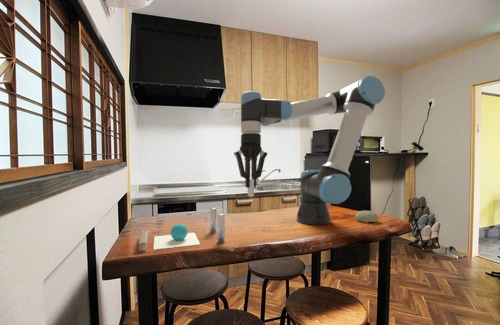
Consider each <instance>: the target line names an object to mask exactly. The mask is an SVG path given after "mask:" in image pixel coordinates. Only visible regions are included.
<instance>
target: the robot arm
mask: <svg viewBox="0 0 500 325" xmlns="http://www.w3.org/2000/svg"><path fill="white" fill-rule="evenodd" d="M385 96H386V89H385V86H384V84H383V81H381V79H379V78H378V77H376V76H374V75H367V76H364V77H361V78H359V79H358V80H356V81H355V82H353V83H350V84H349V85H346V86H344V87H342V88H341V89H339V90H337V91H334V92H331V93H330V92H329V93H328V94H326V96H321V97H315V98H309V99H303V100H298V101H294V102H291V101H290V100H285V99H273V98H272V99H271V98H270V99H269V98H262V95H261V93H260V92H258V91H254V90H253V91H252V90H251V91H249V90H248V91H244V92H243V93H242V94H241V96H240V97H241V98H240V99H241V101H240V122H241V123H240V126H241V127H240V133H241V134H240V147H239V149H238V150H237V151H235V152H234V153H233V155H234V157H235V158H236V162H237V166H238V169H239V170H238V171H239V175H240V177H241V178H244V179H245V188H247V196H248V197H250V198H252V197H253V198H254V197H255V188H256V187H257V179H258V178H261V177H262V173H263V168H264V164H265V160H266V157H267V156H268V152H265V151H263V149H262V145H261V144H262V138H261V136H262V135H261V133H262V131H261V130H262V127H266V126H267V127H268V126H270V125H273V124H277V123H283V122H288V121H294V120H299V119H302V118H310V117H314V116H318V115H323V114H329V115H335V114H343V113H344V114H343V117H342V120H341V123H340V125H339V129H338V131H337V134H336V137H335V140H334V142H333V144H332V148H331V151H330V153H329V156H328V158H327V162H326V163H324V164H322V165H321V167H320V168H319V169H310V170H309V169H308V170H304V171H302V172H301V173H300V178H299V180H300V182H299V185H300V204H299V208H298V210H297V213H296V221H297V222H299V223H303V224H307V225H314V226H315V225H327V224H330V223H331V221H332V217H331V213H330V211H329V208H328V207H329V206H328V204H333V205H337V204H342V203H343V202H345V201H347V199H348V198H349V197H350V195H351V193H352V184H351V181H350V177H351V173H350V172H349V168H350V166H351V165H350V164H351V162H352V160H353V158H354V157H353V156H354V153H355V151H356V147H357V145H358V142H359V140H360V137H361V133H362V131H363V128H364V126H365V123H366V120H367V117H369V116H370V115H373V112H374V110H375V108H376V105H377V104H380V103H381V102H382V101H383V100H384V98H385ZM242 156H243V157H244V163H243V158H242ZM258 157H259V158H258ZM257 161H258V163H257Z"/></svg>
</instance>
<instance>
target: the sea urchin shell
mask: <svg viewBox="0 0 500 325" xmlns="http://www.w3.org/2000/svg"><path fill="white" fill-rule="evenodd" d="M355 219H356V220H358V222H360V221H361V222H362V223H364V222H376V223H377V222H379V216H378V215H377V213H375V212H374V211H371V210H360V211H358V212H357V213H356V214H355Z"/></svg>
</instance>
